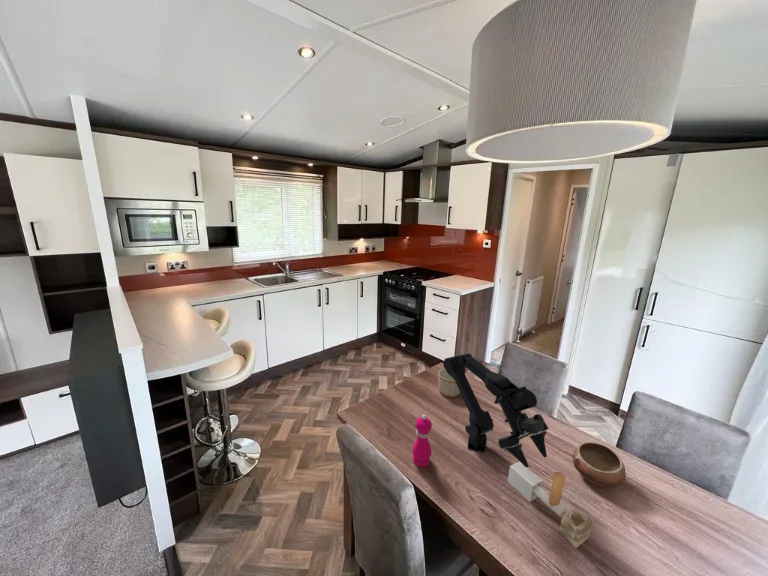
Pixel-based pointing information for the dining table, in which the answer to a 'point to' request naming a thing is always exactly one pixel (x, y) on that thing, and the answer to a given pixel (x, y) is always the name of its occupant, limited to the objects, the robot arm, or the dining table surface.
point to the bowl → (599, 464)
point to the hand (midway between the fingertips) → (536, 462)
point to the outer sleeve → (523, 480)
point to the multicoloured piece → (553, 494)
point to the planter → (447, 384)
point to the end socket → (576, 528)
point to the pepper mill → (422, 442)
